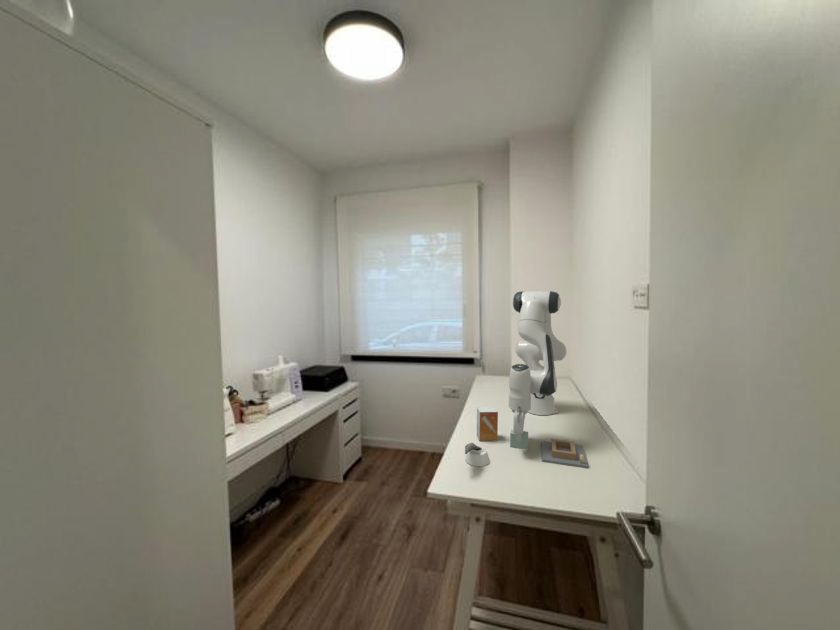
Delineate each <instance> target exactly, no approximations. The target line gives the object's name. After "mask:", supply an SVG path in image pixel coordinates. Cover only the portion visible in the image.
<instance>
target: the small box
mask: <svg viewBox="0 0 840 630" xmlns="http://www.w3.org/2000/svg"><path fill="white" fill-rule="evenodd" d="M498 419H499V411H498V410H497V409H496V408H495V407H493V406H492V407H487V406H485V407H476V437H477V439H478V440H479V442H484V441H487V442H488V441H489V442H490V441H491V442H493V441H496V442H497V441H498V432H499V431H498V429H499V427H498V425H499V423H498V422H499V421H498Z"/></svg>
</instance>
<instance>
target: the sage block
mask: <svg viewBox="0 0 840 630" xmlns="http://www.w3.org/2000/svg"><path fill="white" fill-rule="evenodd" d="M509 442H510V443H509V447H510V448H514V449H519V450H520V449H521V450H528V449H529V431H524V430H523V434H521V442H518V441H516V434H515V433H514V431H513V429H510V436H509Z"/></svg>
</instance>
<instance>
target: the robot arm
mask: <svg viewBox="0 0 840 630" xmlns="http://www.w3.org/2000/svg"><path fill="white" fill-rule="evenodd" d="M561 305H562V300H561V296H560V294H559V293H558V292H557V291H552V290H550V291H548V290H546V291H545V290H530V291H523V290H522V291H518V292H515V294H514V295H513V299H512V307H513V309H514V311H515V312H517V313H519V315H518V316H519V317H518V323H517V324H518V325H517V331H518V332H517V333H518V336H519V337H520V338H521V339H520V340H518V342H517V343H516V345H515V353H516V356H517V357H518V358H519V359H520V360H521V361H523V362H524V364H523V363H517V364H514V365H512V366H511V367H510V370H509V378H508V387H509V394H508V408H509V409H510V410H511V412H512V413H513V427H512V430H513V431H514V433H515V434H516V441H518V442H521V434H523V431H524V427H525V419H526V415H527V414H532V415H537V416H549V415H550V416H551V415H553V414H559V411H558V409H557V408H556V407H555V397H554V396H553V394H555V393H556V392H557V389H558V380H557V376H556V367H555V362H558V361H562V360H563V359H565V357H566V355H567V346H565V344H564V343H563V342H562V341H560V340H559V339H558V338H557V337H556V336H555V334H554V332H553V329H552V314H555V313H557V312H559V310H560V308H561ZM539 361H543V365H542V364H541V363H540V362H539Z"/></svg>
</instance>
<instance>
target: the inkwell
mask: <svg viewBox="0 0 840 630" xmlns="http://www.w3.org/2000/svg"><path fill="white" fill-rule="evenodd" d="M464 455H465V462H466V463H467V464H468V465H469V464H470V466H472V465H473V467H478V466H480V467H485V466H487V465H489V464H490V458H489V454H488V450H487V449H486V448H484V447H483V446H481V445H476V443H473V442H470V443H467V444H466V445H465V447H464Z"/></svg>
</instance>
